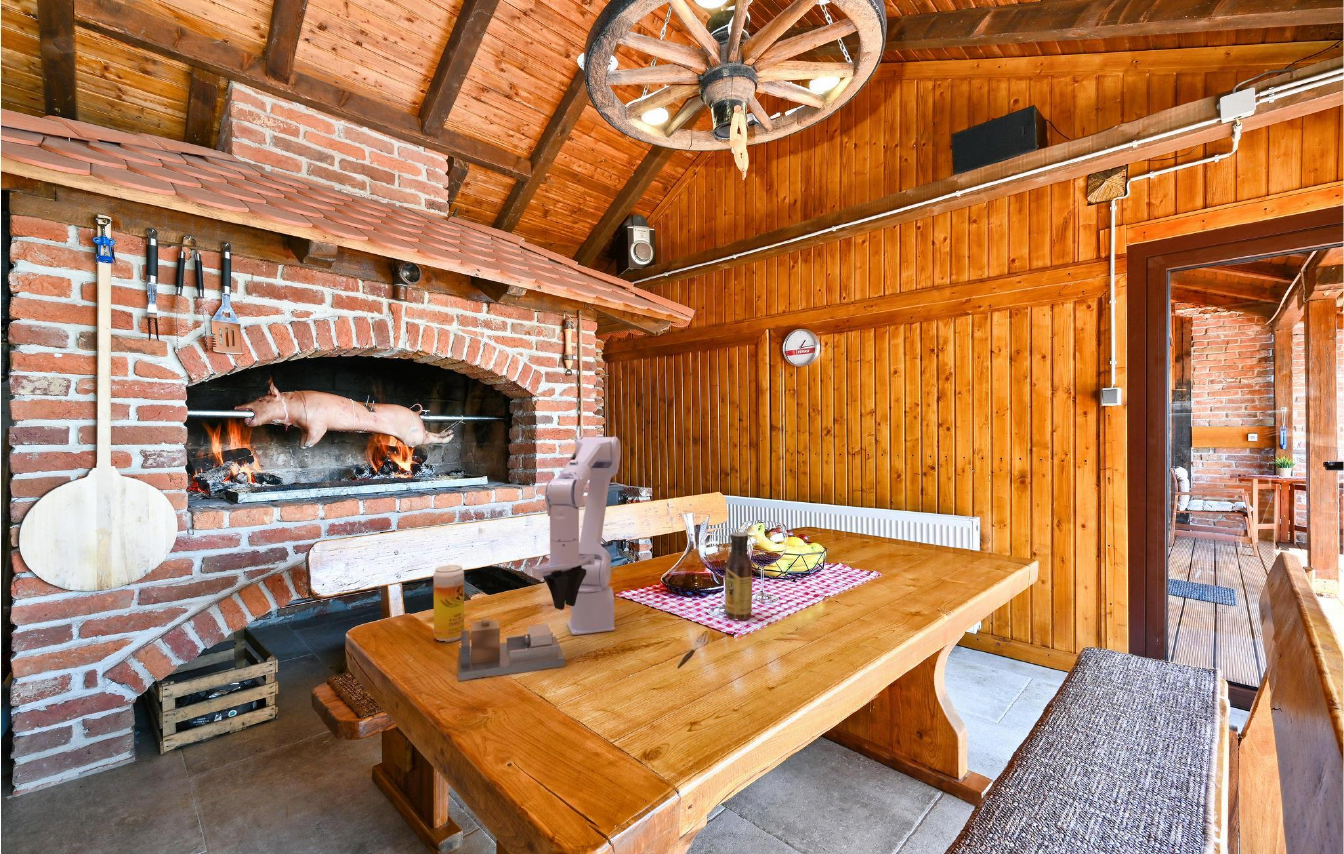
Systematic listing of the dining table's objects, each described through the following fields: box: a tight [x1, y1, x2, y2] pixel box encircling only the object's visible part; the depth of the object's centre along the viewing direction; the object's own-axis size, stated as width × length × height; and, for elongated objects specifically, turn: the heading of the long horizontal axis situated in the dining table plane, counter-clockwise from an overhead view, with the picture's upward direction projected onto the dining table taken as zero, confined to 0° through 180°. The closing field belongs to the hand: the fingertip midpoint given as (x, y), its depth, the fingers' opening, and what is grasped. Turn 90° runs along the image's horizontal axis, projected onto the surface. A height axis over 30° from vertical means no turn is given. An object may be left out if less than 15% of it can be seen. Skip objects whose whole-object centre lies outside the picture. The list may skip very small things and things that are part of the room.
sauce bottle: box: [724, 531, 753, 621], centre depth 140 cm, size 7×6×20 cm
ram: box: [522, 623, 553, 648], centre depth 117 cm, size 5×6×4 cm
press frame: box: [457, 630, 566, 682], centre depth 115 cm, size 19×12×6 cm, turn 109°
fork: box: [676, 630, 710, 669], centre depth 119 cm, size 3×16×2 cm, turn 159°
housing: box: [470, 617, 501, 663], centre depth 114 cm, size 5×5×7 cm
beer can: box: [433, 564, 465, 643], centre depth 127 cm, size 6×6×15 cm
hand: (564, 606), depth 118 cm, fingers open, 2 cm apart
